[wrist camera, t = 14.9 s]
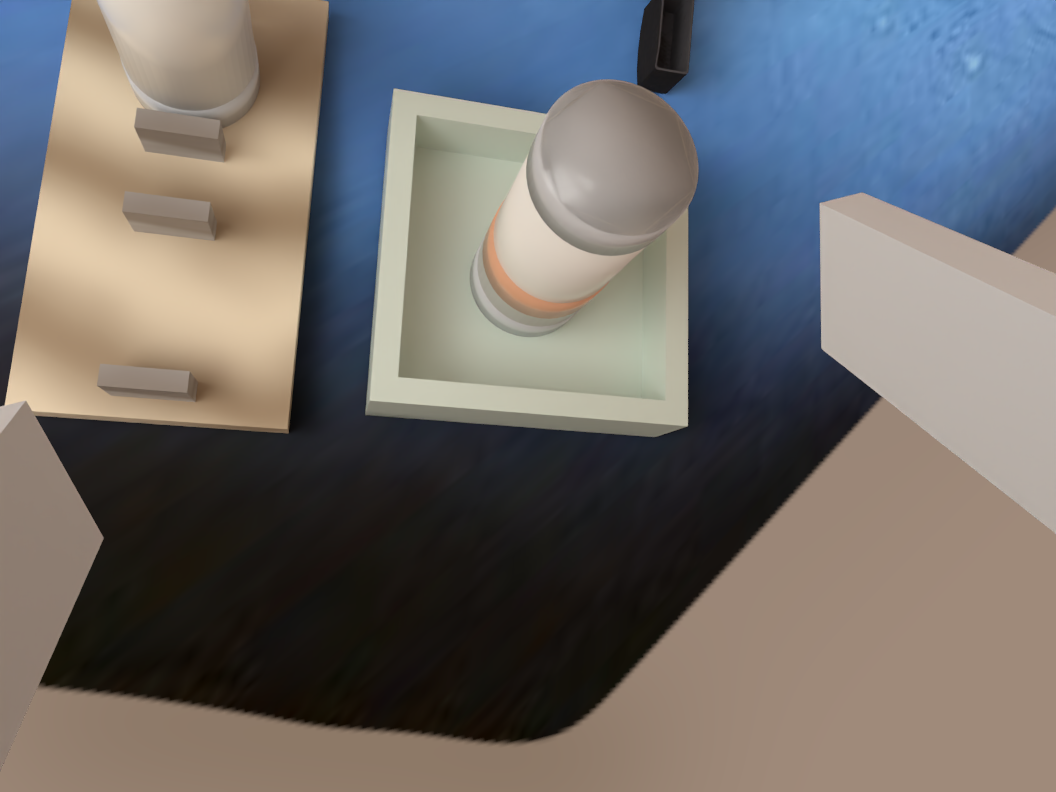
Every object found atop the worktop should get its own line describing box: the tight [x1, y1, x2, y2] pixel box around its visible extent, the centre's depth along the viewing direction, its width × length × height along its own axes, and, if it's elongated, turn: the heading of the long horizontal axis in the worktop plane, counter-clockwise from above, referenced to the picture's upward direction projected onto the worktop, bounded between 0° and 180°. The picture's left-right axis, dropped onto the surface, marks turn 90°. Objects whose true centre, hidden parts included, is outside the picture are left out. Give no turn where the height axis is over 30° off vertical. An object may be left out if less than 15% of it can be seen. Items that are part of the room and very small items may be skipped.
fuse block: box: [5, 0, 329, 433], centre depth 32 cm, size 19×10×3 cm, turn 178°
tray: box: [365, 88, 688, 437], centre depth 35 cm, size 13×13×4 cm
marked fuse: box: [470, 80, 698, 337], centre depth 30 cm, size 5×5×12 cm
